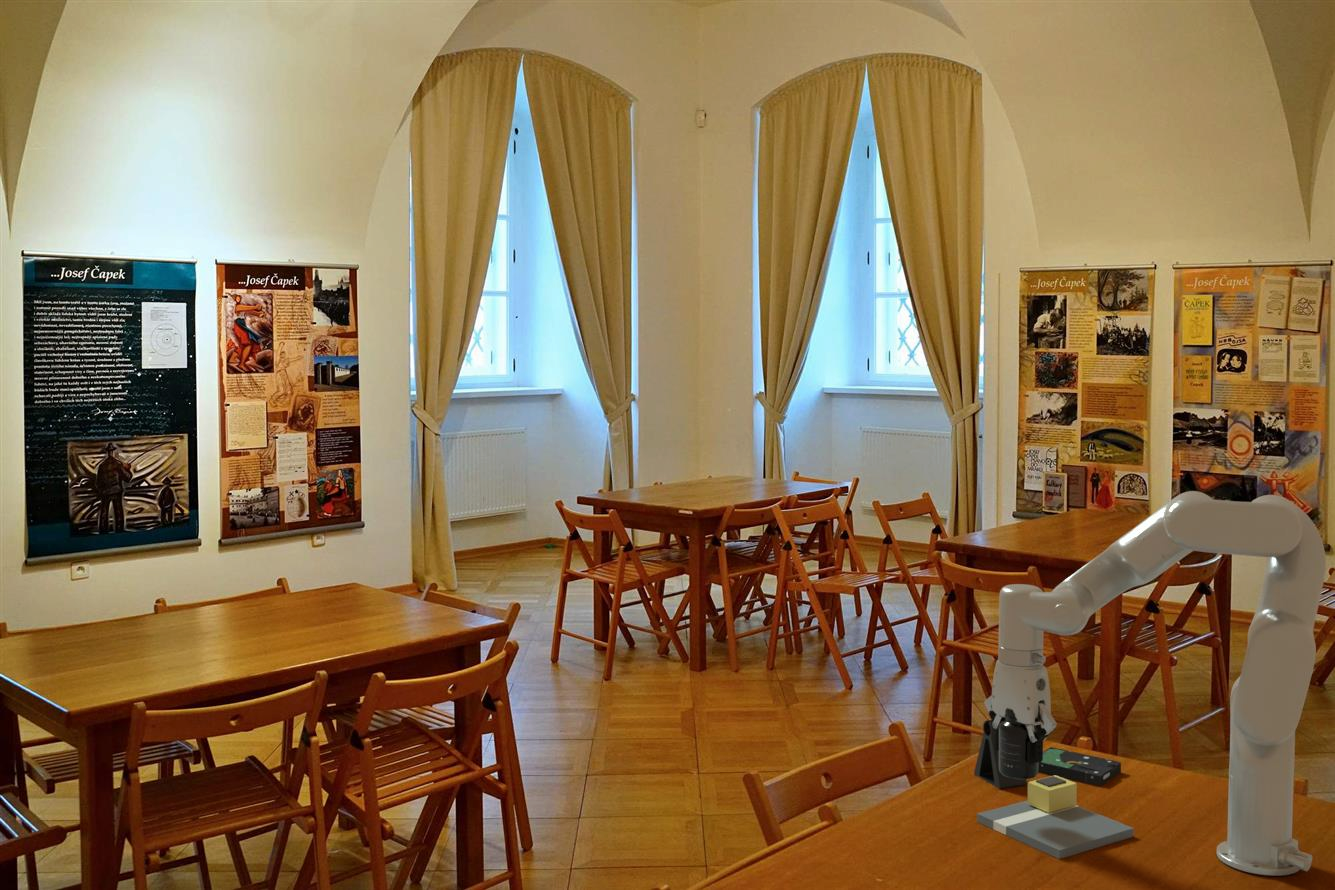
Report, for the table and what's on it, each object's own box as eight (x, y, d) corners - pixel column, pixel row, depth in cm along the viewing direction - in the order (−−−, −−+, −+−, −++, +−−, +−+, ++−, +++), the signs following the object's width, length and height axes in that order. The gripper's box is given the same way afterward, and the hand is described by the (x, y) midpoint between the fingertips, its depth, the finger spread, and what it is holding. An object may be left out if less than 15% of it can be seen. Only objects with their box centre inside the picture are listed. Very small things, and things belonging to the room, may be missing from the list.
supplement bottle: (1011, 764, 227) (1012, 698, 226) (1045, 773, 222) (1047, 706, 221) (990, 773, 222) (991, 706, 221) (1025, 783, 217) (1026, 714, 216)
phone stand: (1026, 786, 243) (1027, 724, 242) (999, 789, 241) (1000, 728, 240) (1000, 770, 252) (1001, 711, 251) (973, 774, 250) (974, 714, 249)
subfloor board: (1133, 836, 218) (1133, 828, 218) (1059, 859, 209) (1059, 850, 209) (1049, 802, 234) (1049, 794, 234) (977, 821, 225) (977, 813, 225)
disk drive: (1121, 775, 250) (1049, 758, 260) (1122, 761, 250) (1050, 745, 259) (1100, 789, 242) (1027, 772, 252) (1101, 775, 242) (1028, 758, 252)
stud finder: (1076, 804, 228) (1076, 781, 228) (1048, 812, 224) (1048, 788, 224) (1055, 796, 232) (1055, 773, 232) (1027, 803, 229) (1027, 780, 228)
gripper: (1074, 664, 215) (1072, 766, 216) (999, 643, 230) (998, 739, 231) (1042, 670, 211) (1040, 774, 212) (969, 648, 226) (967, 746, 227)
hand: (1018, 755), depth 222 cm, fingers closed on supplement bottle, 6 cm apart
